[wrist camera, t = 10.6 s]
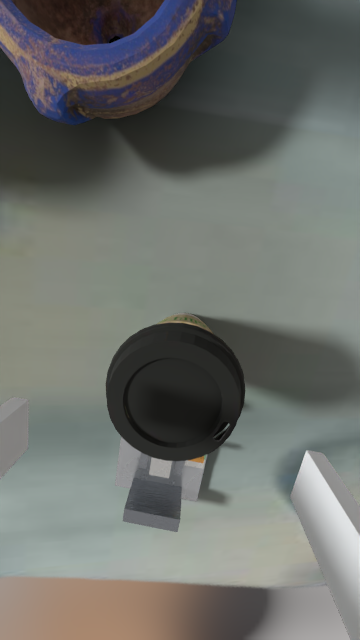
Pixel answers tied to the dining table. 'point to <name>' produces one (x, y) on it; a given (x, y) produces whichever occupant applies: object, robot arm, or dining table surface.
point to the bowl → (107, 51)
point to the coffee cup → (175, 389)
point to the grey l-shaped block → (156, 488)
